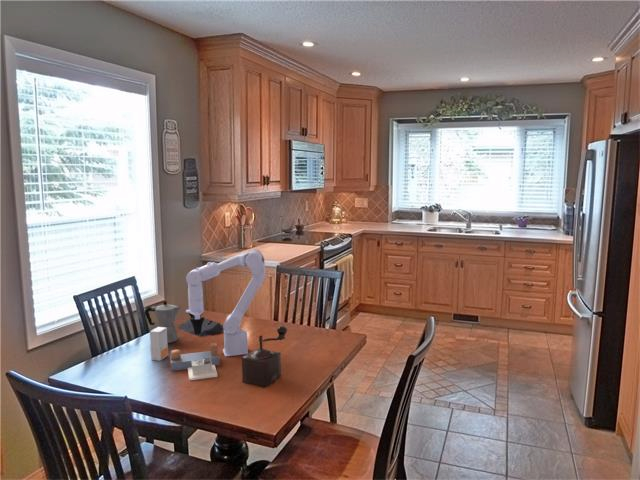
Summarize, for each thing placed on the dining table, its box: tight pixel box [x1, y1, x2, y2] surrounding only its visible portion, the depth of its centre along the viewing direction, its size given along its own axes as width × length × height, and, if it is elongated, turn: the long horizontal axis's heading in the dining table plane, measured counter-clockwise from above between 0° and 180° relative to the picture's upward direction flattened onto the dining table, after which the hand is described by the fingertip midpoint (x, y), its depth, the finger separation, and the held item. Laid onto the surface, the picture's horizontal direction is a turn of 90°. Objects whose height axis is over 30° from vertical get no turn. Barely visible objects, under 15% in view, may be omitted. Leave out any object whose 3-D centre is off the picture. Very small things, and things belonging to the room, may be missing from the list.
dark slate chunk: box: [176, 318, 224, 338], centre depth 231 cm, size 15×22×5 cm
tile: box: [187, 364, 218, 381], centre depth 181 cm, size 10×10×1 cm
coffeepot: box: [143, 300, 182, 344], centre depth 215 cm, size 15×9×18 cm, turn 103°
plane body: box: [169, 342, 221, 372], centre depth 189 cm, size 18×8×7 cm, turn 108°
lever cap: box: [191, 358, 212, 375], centre depth 180 cm, size 7×5×4 cm
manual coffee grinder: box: [241, 325, 288, 388], centre depth 176 cm, size 16×11×18 cm
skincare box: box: [149, 326, 169, 362], centre depth 195 cm, size 6×4×12 cm
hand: (197, 331), depth 199 cm, fingers open, 7 cm apart
